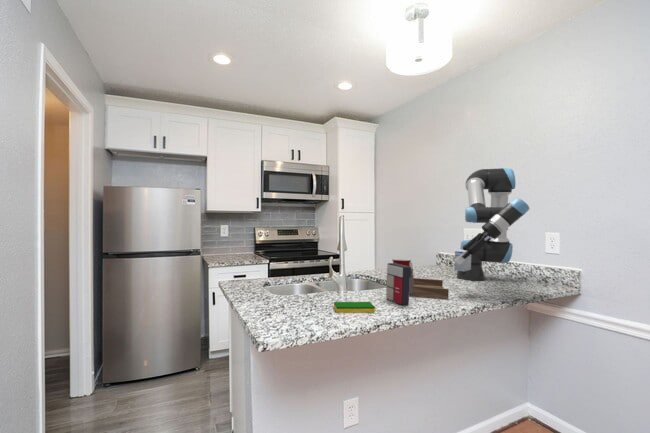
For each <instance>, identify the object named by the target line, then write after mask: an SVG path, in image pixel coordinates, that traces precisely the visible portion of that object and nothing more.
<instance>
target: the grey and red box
mask: <svg viewBox="0 0 650 433" xmlns="http://www.w3.org/2000/svg"><path fill="white" fill-rule="evenodd" d="M386 267H387V268H386V291H385V297H386V299H387V300H389V301H391V302H393V303H396V304H399V305H401V306H408V305H410V296H409V278H410V277H411V267H410V266H405V265H401V264H397V263H393V262H388V263H387V264H386Z"/></svg>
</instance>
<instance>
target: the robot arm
mask: <svg viewBox="0 0 650 433" xmlns="http://www.w3.org/2000/svg"><path fill="white" fill-rule="evenodd" d="M465 189H466V190H467V196H468V198H467V199H468V207H465V210H464V219H465V220H464V221H465V222H467V223H471V224H472V223H473V224H477V223H478V224H479V223H480V224H483V225H482V226H481V229H482V232H479V233H478V234H476V235H475V236H474V237H473V238H472V239H466V240H462V241H460V248H459V250H466V251H465V252H464V253H462V254H461V255H460V256H459V257H458V258H457V259H455V254H454V255H453V256H451V259H452V260H453V261H454V262H455V261H456V262H457V263H458V264H459V265H460V264H461V263H463V262H464V261H465V260H466V259H467V258H468V257H470V256H471V270H467V271H456V278H458V279H459V280H466V281H476V282H477V281H479V282H480V281H485V280H486V276H485V273H484V270H483V266H482V265H483V263H482V262H484V263H485V262H486V263H487V262H488V263H497V264H503V263H504V264H506V263H507V264H508V263H509V262H510V261H511V259H512V255H513V243H512V242H510V239H509V238H508V237H507V233H508V231H509V227H511V226H512V225H513V224H514V223H516V222H517V221H518V220H520V218H522V217H523V216H524V215H526V213H527V212H528V211H529V210H530V206H529V205H528V203H527V202H526V201H524V200H523V199H521V198H519V197H515V198H513V199H512V200H511V201H509V195H511V194H512V190H514V189H516V176H515V171H514V170H513V169H512V168H507V167H506V168H505V167H502V168H499V167H498V168H481V169H478V170H476V171H474V172H472V173H471V174H470V175H469V176H468V177H467V178H466V181H465ZM484 190H487V191H488V192H487V194H489V195H490V206H487V205H486V199H485V193H484V192H485V191H484ZM467 251H468V252H467ZM470 254H471V255H470Z"/></svg>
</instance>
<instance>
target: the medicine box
mask: <svg viewBox="0 0 650 433" xmlns="http://www.w3.org/2000/svg"><path fill="white" fill-rule="evenodd" d="M465 251H466V250H461V249H459V250H456V251H454V255H455V259H457V258H458V257H459V256H460V255H461V254H462V253H464V252H465ZM467 252H468V251H467ZM470 255H471V254H470ZM467 270H471V256H470V257H468V258H467V259H466V260H465V261H464V262H463V263H461V264H460V265H459V264H458V263H457V262H456V261H454V271H456V272H458V271H467Z"/></svg>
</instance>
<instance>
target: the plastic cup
mask: <svg viewBox="0 0 650 433" xmlns="http://www.w3.org/2000/svg"><path fill="white" fill-rule="evenodd" d="M391 260H392V263H397V264H401V265H405V266H409V262H411V261H412V259H406V258H391ZM411 263H412V262H411Z"/></svg>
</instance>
